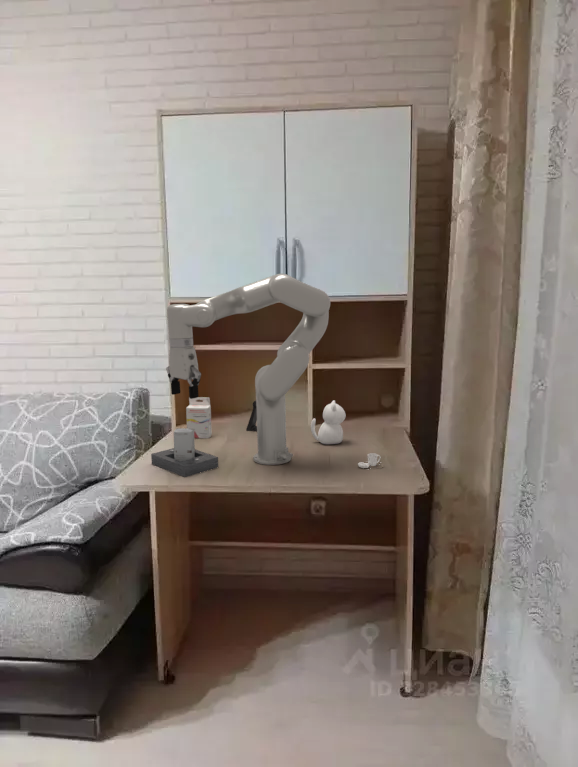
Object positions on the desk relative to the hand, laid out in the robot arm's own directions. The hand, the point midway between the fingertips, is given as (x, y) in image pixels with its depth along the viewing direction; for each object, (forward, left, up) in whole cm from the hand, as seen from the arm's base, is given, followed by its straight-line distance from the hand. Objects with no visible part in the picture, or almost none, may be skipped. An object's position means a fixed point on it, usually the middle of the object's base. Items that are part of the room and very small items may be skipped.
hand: (184, 395), depth 219 cm
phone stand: (+15, -44, -23) cm, 52 cm away
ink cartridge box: (+24, -22, -23) cm, 40 cm away
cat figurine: (-17, -49, -23) cm, 57 cm away
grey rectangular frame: (-1, +2, -23) cm, 23 cm away
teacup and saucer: (-42, -39, -24) cm, 62 cm away
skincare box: (-1, +2, -23) cm, 23 cm away
